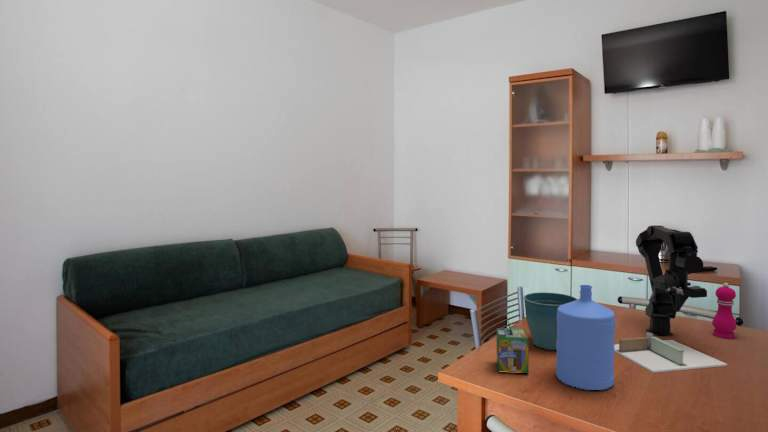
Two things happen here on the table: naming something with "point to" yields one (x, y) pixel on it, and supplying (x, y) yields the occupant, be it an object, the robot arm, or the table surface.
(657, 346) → the hinged panel
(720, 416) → the table surface
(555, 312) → the flower pot
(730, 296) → the pepper mill
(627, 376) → the table surface
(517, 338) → the chalk box
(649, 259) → the robot arm
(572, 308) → the water jug
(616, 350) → the card
